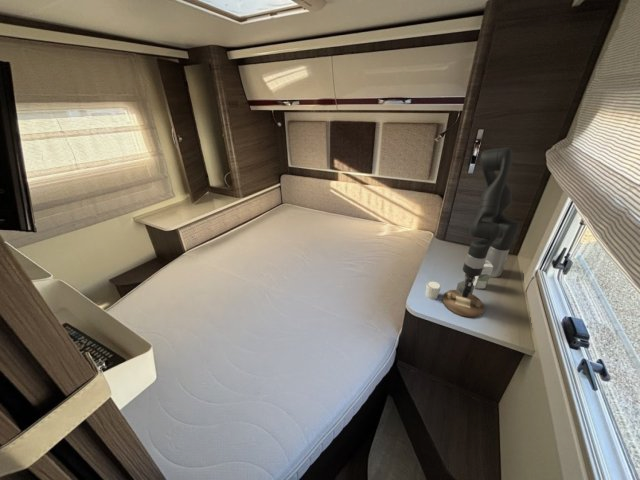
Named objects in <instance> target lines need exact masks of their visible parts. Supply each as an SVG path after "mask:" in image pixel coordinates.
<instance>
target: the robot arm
mask: <svg viewBox="0 0 640 480" xmlns="http://www.w3.org/2000/svg"><path fill="white" fill-rule="evenodd" d="M513 155H514V153H513V150H512V148H511V147H499V148H492V149H485V150H483V152H482V153H481V154H480V157H479V158H480V159H479V162H480V167H481V171H482V174H483V177H484V178H483V179H484V180H485V186H486V189H485V190H484V191H483V193H482V195H481V197H480V200H479V206H478V211H477V213H476V216H475V217H474V218H475V219H474V220H473V222H472V223H471V226H470V228H469V234H470V236H471V237H473V238H479V240H478V239H477V240H472V242H471V243H470V244H469V247H468V248H469V249H468V252H467V254H466V256H465V259H464V263H463V266H462V272H464V273H465V274H464V281H465V282H464V285H465V287H464V291H463V294H462V296H463V297H466V298H467V297H468V294H469V293H470V292H471V289H472V286H473V283H474V281H475V276H479V275H481V273H482V270H483V267H484V264H485V261H489V262H490V263H491V264H492V266H493V270H492V272H491V275H490V277H491V278H499V277H500V275H501V274H503V272H504V271H503V270H504V267H505V265H506V263H507V258H508V256H509V252H510V249H511V247H512V245H513V244H514V242H515V240H516V237H517V235H518V234H519V231H520V228H521V225H520V223H519V222H518V221H516V220H514V219H511V218H509V217H506V215H505V211H506V210H507V209H508V208H509V207H510V206H511V204H512V202H513V195H512V189H511V187H510V186H509V184H508V183H506V182H507V181H508V177H509V174H510V170H511V167H512V164H513ZM497 171H499V172H498V174H497V173H496V172H497ZM490 218H491V219H490ZM484 219H490V220H491V222H489V221H482V220H484ZM499 236H502V237H501V238H499Z"/></svg>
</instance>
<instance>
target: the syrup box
mask: <svg viewBox="0 0 640 480" xmlns="http://www.w3.org/2000/svg"><path fill="white" fill-rule="evenodd" d="M492 270H493V266H492V264H491V263H490V262H489V261H485V264H484V267H483V270H482V273H481V275H479V276H475V281H474V283H473V285H474V286H475V287H474V289H477V290H478V289H479V290H480V289H481V290H482V289H483V290H485V289H486V288H487V285H488V283H489V280H490V275H491V272H492Z"/></svg>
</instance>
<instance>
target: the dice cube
mask: <svg viewBox="0 0 640 480" xmlns="http://www.w3.org/2000/svg"><path fill="white" fill-rule="evenodd" d="M464 282H465V280H462V281H459V282H458V283H457V286H456V289H455V290H456V292H457V293H459V294H460V295H462V294H463V291H464V287H465V285H464ZM474 287H475V286H474V285H473V286H472V289H471V292H470V293H469V294H468V296H469V295H472V294H473V292H474V289H475V288H474Z"/></svg>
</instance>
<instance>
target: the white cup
mask: <svg viewBox="0 0 640 480" xmlns="http://www.w3.org/2000/svg"><path fill="white" fill-rule="evenodd" d="M441 289H442V284H441V283H440V282H438V281H436V280H428V281H427V282H426V288H425V297H426V298H428V299H430V300H436V299H438V297H439V294H440V292H441Z"/></svg>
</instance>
